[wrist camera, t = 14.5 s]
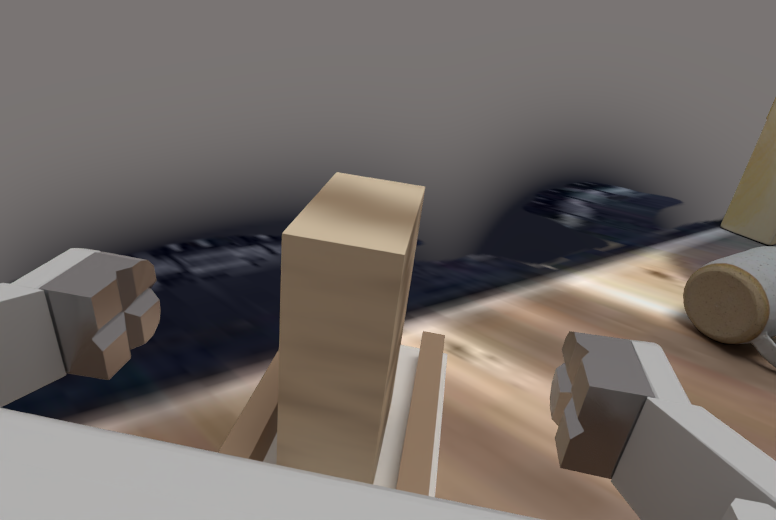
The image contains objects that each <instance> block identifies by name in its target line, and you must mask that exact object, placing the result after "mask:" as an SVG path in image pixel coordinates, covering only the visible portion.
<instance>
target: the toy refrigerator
mask: <svg viewBox="0 0 776 520" xmlns="http://www.w3.org/2000/svg"><path fill="white" fill-rule="evenodd" d="M721 227H722V228H724V229H727V230H729V231H732V232H734V233H737V234H740V235H742V236H745V237H748V238H750V239H753V240H756V241H758V242H761V243H764V244H767V245H774V244H776V98H775V100H774V102H773V105H772V107H771V109H770V112H769V114H768V116H767V121H766V123H765V126H764V128H763V130H762V132H761V135H760V137H759V139H758V142H757V144H756V146H755V149H754V151H753V153H752V155H751V158H750V160H749V162H748V165H747V167H746V169H745V171H744V174H743V176H742V178H741V180H740V183H739V185H738V187H737V189H736V192H735V194H734V197H733V198H732V201H731V203H730V205H729V207H728V210H727V212H726V214H725V216H724V218H723V221H722V223H721Z"/></svg>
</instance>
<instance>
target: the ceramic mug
mask: <svg viewBox="0 0 776 520" xmlns="http://www.w3.org/2000/svg"><path fill="white" fill-rule="evenodd" d="M683 299H684V307H685V310H686V313H687V315H688V317H689V319H690V320H691V321H692V323H693V324H694V326H695V327H696V328H697V329H698V330H699V331H700V332H702V333H703V334H705V335H706V336H708V337H709V338H711V339H713V340H716V341H718V342H722V343H727V344H746V343H752V344H753V346H754V347H755V348H756V350H757V351H758V352H759V353H760V355H761V356H762V357H764V358H765V359H766V360H767V361H768V362H769V363H770V364H772V365H773V366H774V367H776V344H775V343H774V341H773V340H772V339H771V338H770V337H774V336H776V247H773V246H764V247H757V248H753V249H750V250H748V251H744V252H741V253H738V254H734V255H731V256H728V257H725V258H721V259H718V260H715V261H712V262H710V263H708V264H706V265H704V266H703V267H701V268H700V269H698V270H697V271H696V272H694V273H693V274H692V276H691V277H690V278H689V280H688V281H687V283H686V286H685V288H684V293H683Z"/></svg>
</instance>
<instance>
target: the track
mask: <svg viewBox="0 0 776 520" xmlns="http://www.w3.org/2000/svg"><path fill="white" fill-rule="evenodd" d="M444 338H445V335H440V334H435V333H430V332H424V331H423V334H422V340H421V346H420V349H419V348H414V347H409V346H404V345H400V351H399V358H398V364H397V370H396V377H395V383H394V389H393V396H392V402H391V407H390V411H389V416H388V420H387V425H386V429H385V434H384V438H383V443H382V447H381V452H380V456H379V461H378V465H377V470H376V474H375V479H374V483H373V485H378V486H383V487H388V488H392V489H397V490H402V491H407V492H412V493H417V494H421V495H426V496H431V497H435V489H436V478H437V466H438V455H439V444H440V432H441V421H442V409H443V398H444V387H445V375H446V364H447V354H445V353H443V348H444ZM278 381H279V350H278V352H277V354H276V355H275V357H274V359H273V360H272V362H271V364H270V365H269V367H268V369H267V370H266V372H265V374H264V376H263V377H262V379H261V381H260V382H259V384H258V386H257V387H256V389H255V391H254V392H253V394H252V396H251V397H250V399H249V401H248V403H247V404H246V406H245V408H244V409H243V411H242V413H241V414H240V416H239V418H238V419H237V421H236V423H235V424H234V426H233V428H232V430H231V431H230V433H229V435H228V436H227V438H226V440H225V441H224V443H223V445H222V446H221V448H220V450H219V451H218V453H222V454H227V455H232V456H237V457H242V458H246V459H251V460H256V461H261V462H266V463H271V464H276V463H277V422H278Z"/></svg>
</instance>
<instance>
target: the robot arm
mask: <svg viewBox="0 0 776 520" xmlns="http://www.w3.org/2000/svg"><path fill="white" fill-rule="evenodd" d="M155 282H156V276H155V270H154V266H153V265H152V264H151V263H150V262H149V261H148V260H144V259H138V258H133V257H128V256H122V255H117V254H112V253H106V252H100V251H96V250H89V249H83V248H71V249H69V250H68V251H66V252H64V253H63V254H61V255H59V256H57V257H56V258H54V259H52V260H51V261H49V262H47V263H46V264H44V265H42V266H40V267H39V268H37V269H35V270H34V271H32V272H30V273H28V274H27V275H25V276H23V277H22V278H20V279H18V280H17V281H15V282H13V283H11V284H7V283H0V407H2V406H4V405H6V404H8V403H10V402H12V401H14V400H16V399H18V398H20V397H23V396H25V395H27V394H29V393H31V392H33V391H35V390H37V389H39V388H41V387H43V386H45V385H47V384H49V383H51V382H53V381H55V380H57V379H59V378H61V377H63V376H65V375H66V373H70V374H76V375H82V376H88V377H94V378H100V379H106V380H109V379H110V378H111V377H112V376H113V375H114V374H115V373H116V372H117V371H118V370H119V369H120V368H121V367H122V366H123V365H124V364H125V363H126V362H127V361H128V360H129V359H130V358H131V350H130V349H133V348H135V347H138V346H140V345H143V344H145V343H146V342H147V341H148V340H149V339H150V338H151V337H152V336H153V334H154V332H155V330H156V328H157V325H158V323H159V319H160V302H159V299H158V297H157V296H156V295H155V294H154V292H153V291H152V290H151V287H152V286H153V285H154V283H155ZM562 352H563V357H564V362H565V363H564V364H562V365H561V366H559V367H558V368H556V370H555V374H554V378H553V381H552V386H551V394H550V410H551V417H552V420H553V421H554V422H555V423H556V424H557V425H558V426H559V427H558V430H557V433H556V436H555V441H556V447H557V453H558V458H559V464H560V468H563V469H568V470H572V471H577V472H581V473H586V474H590V475H595V476H599V477H604V478H608V479H612V480H611V482H612V484H613V485H614V486H615V487H616V489H617V490H618V491H619V492H620V494H621V495H622V496H623V497H624V499H625V500H626V501H627V503H628V504H629V505H630V506H631V508H632V509H633V510H634V511H635V513H636V514H637V515H638V516H639V518H640V519H641V520H776V461H775V460H773V459H772V458H771V457H769V456H768V455H767V454H765V453H764V452H762V451H761V450H760V449H758V448H757V447H756V446H754V445H753V444H752V443H750V442H749V441H747V440H746V439H745V438H743V437H742V436H741V435H739V434H738V433H737V432H735V431H734V430H732V429H731V428H730V427H728V426H727V425H726V424H724V423H723V422H722V421H720V420H719V419H717V418H716V417H715V416H713V415H712V414H711V413H709V412H708V411H707V410H705V409H704V408H702V407H701V406H695V405H691V403H690V401H689V399H688V397H687V395H686V393H685V391H684V389H683V388H682V386H681V384H680V382H679V380H678V378H677V376H676V374H675V373H674V371H673V369H672V367H671V365H670V363H669V361H668V359H667V357H666V356H665V354H664V352H663V350H662V348H661V347H660V346H659V345H658V344H656V343H651V342H643V341H635V340H628V339H620V338H613V337H606V336H599V335H592V334H585V333H577V332H570V331H569V333H568V335H567V337H566V339H565V342H564V345H563V348H562ZM0 520H542V519H537V518H532V517H528V516H523V515H518V514H513V513H508V512H503V511H499V510H494V509H489V508H484V507H479V506H474V505H470V504H465V503H460V502H455V501H450V500H446V499H441V498H436V497H431V496H426V495H421V494H417V493H412V492H407V491H402V490H397V489H392V488H388V487H383V486H378V485H373V484H368V483H363V482H359V481H354V480H349V479H344V478H339V477H334V476H330V475H325V474H320V473H315V472H310V471H305V470H300V469H295V468H290V467H286V466H281V465H276V464H271V463H266V462H261V461H256V460H251V459H246V458H242V457H237V456H232V455H227V454H222V453H217V452H212V451H207V450H202V449H197V448H193V447H188V446H183V445H178V444H173V443H168V442H163V441H158V440H153V439H149V438H144V437H139V436H134V435H129V434H124V433H120V432H115V431H110V430H105V429H100V428H95V427H91V426H86V425H81V424H76V423H71V422H66V421H61V420H57V419H52V418H47V417H42V416H37V415H32V414H28V413H23V412H18V411H13V410H8V409H3V408H0Z"/></svg>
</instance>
